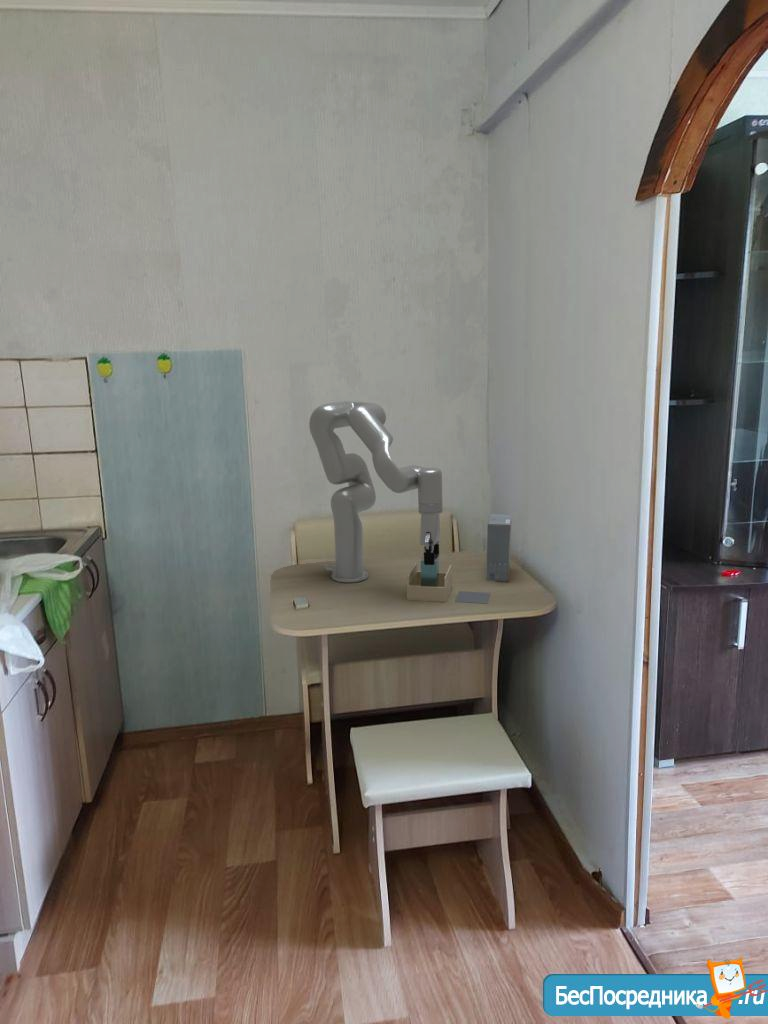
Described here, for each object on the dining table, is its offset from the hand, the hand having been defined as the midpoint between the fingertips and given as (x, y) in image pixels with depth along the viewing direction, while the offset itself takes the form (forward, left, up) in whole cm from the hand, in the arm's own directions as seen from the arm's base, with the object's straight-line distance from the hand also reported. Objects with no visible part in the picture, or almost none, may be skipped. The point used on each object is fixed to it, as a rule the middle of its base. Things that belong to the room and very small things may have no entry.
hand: (431, 560), depth 240 cm
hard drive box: (+19, +24, -12) cm, 33 cm away
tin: (-1, 0, -11) cm, 11 cm away
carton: (-1, 0, -12) cm, 12 cm away
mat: (+13, -2, -12) cm, 18 cm away
